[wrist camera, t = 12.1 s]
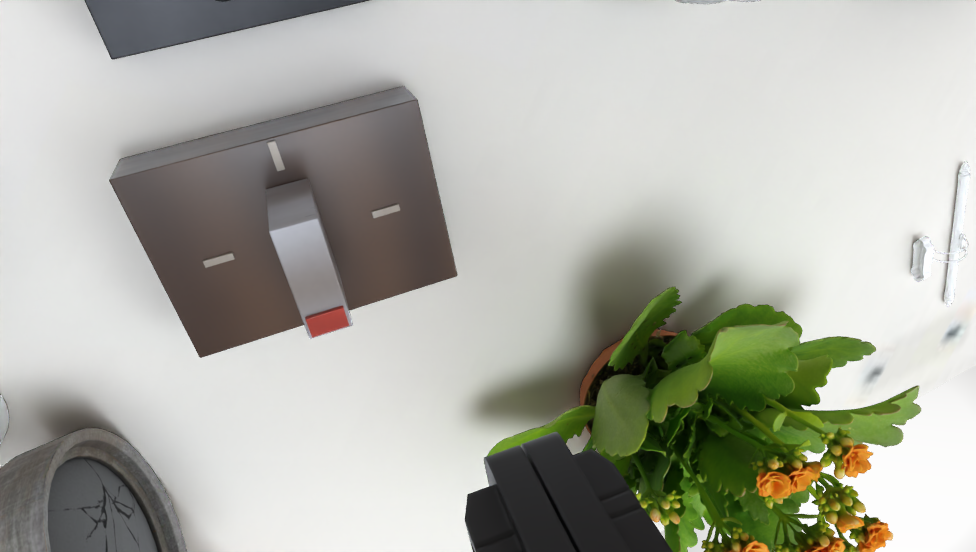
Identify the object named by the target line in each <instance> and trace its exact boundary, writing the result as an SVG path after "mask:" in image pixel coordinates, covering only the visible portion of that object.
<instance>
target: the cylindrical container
mask: <svg viewBox="0 0 976 552" xmlns="http://www.w3.org/2000/svg"><path fill="white" fill-rule="evenodd" d="M8 424H9V413H8V408H7V405H6V403H5V401H4V399H3V397H2V395H1V394H0V445H1V443H2V441H3V438H4V436H5V434H6V431H7V429H8Z"/></svg>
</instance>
